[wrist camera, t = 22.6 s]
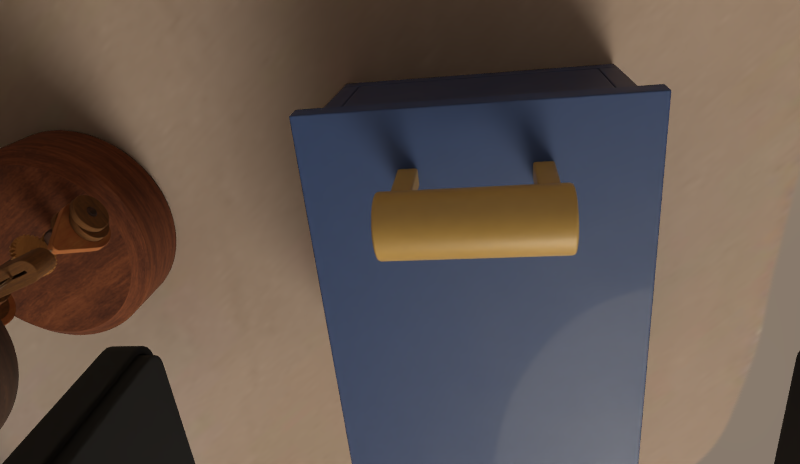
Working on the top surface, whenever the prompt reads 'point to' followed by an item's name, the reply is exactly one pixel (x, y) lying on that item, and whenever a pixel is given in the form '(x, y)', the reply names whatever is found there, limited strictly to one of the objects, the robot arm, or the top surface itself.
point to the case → (482, 85)
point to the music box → (75, 240)
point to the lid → (488, 271)
